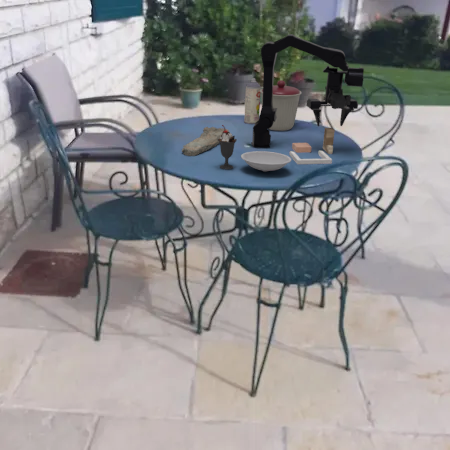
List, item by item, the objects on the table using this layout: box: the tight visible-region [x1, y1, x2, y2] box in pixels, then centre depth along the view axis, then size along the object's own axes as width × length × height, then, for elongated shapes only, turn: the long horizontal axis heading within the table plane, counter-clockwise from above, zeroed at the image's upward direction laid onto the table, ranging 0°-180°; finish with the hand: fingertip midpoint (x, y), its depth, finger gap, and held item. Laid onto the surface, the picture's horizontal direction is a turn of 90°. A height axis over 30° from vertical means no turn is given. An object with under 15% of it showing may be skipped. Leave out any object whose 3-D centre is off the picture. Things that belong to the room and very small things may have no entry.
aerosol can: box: [243, 77, 262, 125], centre depth 254 cm, size 7×7×20 cm
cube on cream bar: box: [322, 127, 336, 155], centre depth 217 cm, size 8×3×9 cm, turn 9°
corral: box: [288, 150, 333, 165], centre depth 208 cm, size 13×12×2 cm
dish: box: [240, 150, 292, 173], centre depth 194 cm, size 18×14×5 cm
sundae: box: [218, 124, 237, 171], centre depth 194 cm, size 7×7×15 cm
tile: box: [291, 142, 312, 154], centre depth 219 cm, size 6×6×2 cm
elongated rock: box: [181, 126, 230, 157], centre depth 222 cm, size 35×5×10 cm
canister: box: [260, 79, 302, 132], centre depth 245 cm, size 18×18×21 cm
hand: (329, 126), depth 215 cm, fingers open, 9 cm apart
